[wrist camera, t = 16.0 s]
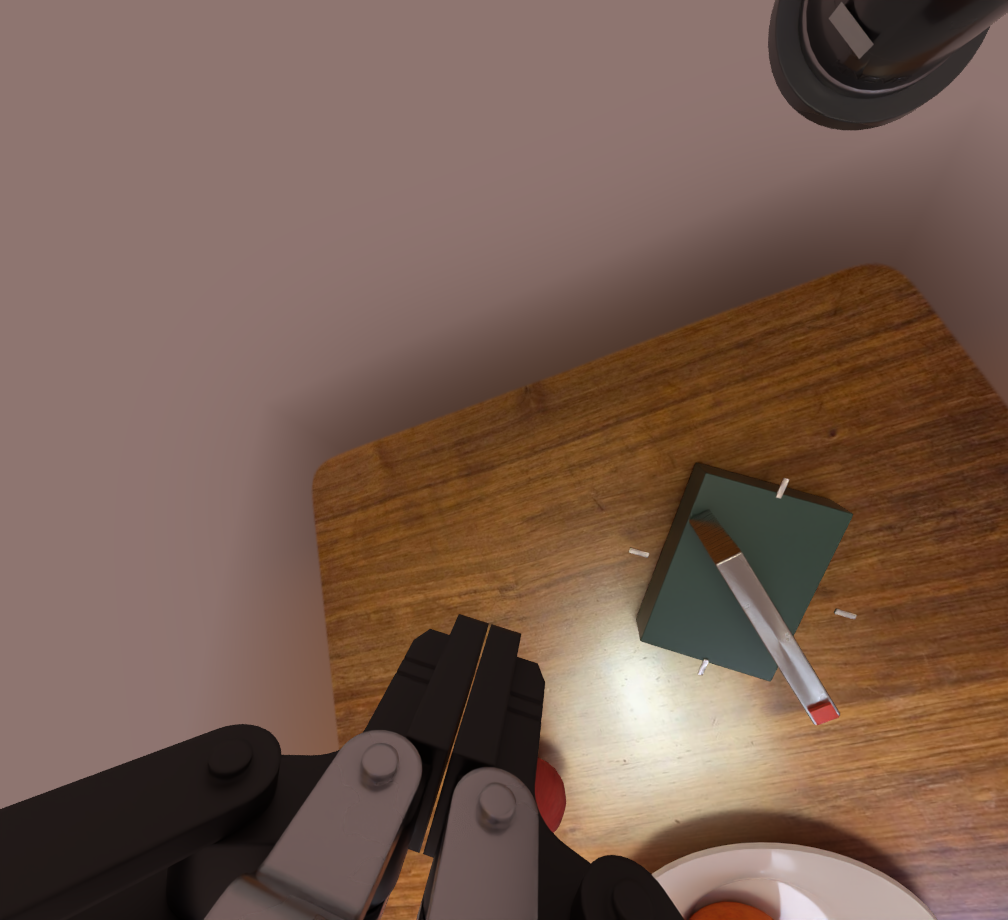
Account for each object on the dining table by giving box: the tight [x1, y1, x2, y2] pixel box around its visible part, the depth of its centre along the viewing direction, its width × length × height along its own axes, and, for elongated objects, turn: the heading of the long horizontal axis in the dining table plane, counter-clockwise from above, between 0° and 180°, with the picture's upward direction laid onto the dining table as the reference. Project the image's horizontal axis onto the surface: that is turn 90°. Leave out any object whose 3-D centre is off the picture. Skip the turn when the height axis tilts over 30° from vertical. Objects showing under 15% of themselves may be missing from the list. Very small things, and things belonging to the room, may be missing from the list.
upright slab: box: [689, 510, 840, 725], centre depth 31 cm, size 12×2×7 cm, turn 34°
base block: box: [629, 463, 857, 681], centre depth 36 cm, size 16×16×3 cm
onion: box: [535, 757, 566, 832], centre depth 41 cm, size 6×6×8 cm
